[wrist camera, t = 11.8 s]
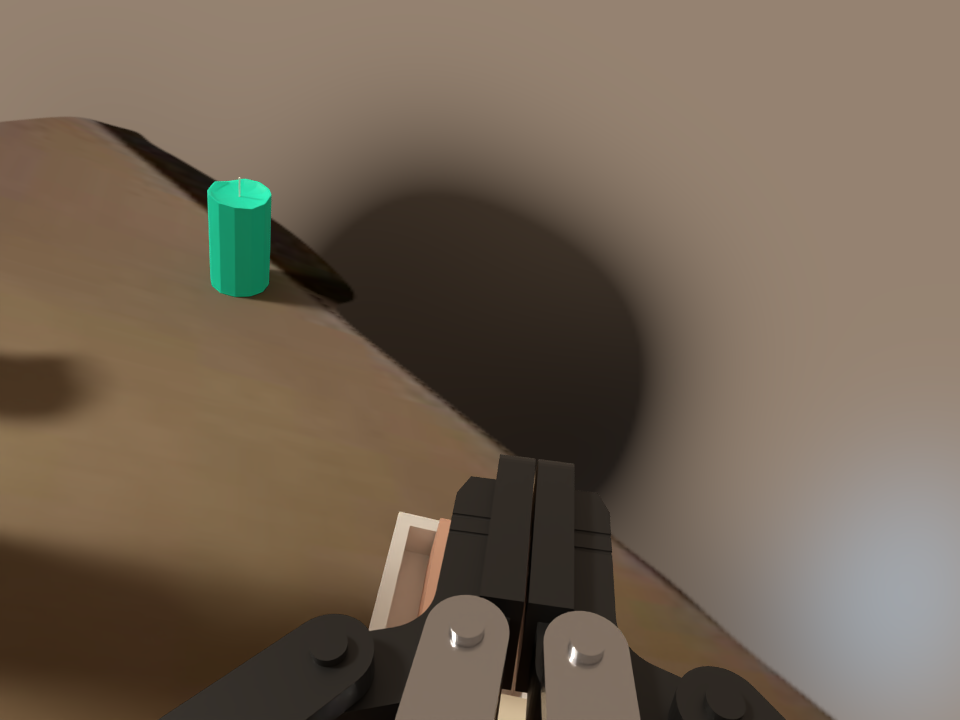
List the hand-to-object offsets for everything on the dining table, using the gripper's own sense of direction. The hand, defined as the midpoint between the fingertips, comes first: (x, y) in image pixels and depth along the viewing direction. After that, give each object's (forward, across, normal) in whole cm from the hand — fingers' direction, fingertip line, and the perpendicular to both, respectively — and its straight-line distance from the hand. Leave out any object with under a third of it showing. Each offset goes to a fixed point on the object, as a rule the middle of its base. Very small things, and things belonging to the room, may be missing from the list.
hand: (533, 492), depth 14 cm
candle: (+54, -32, -24) cm, 67 cm away
